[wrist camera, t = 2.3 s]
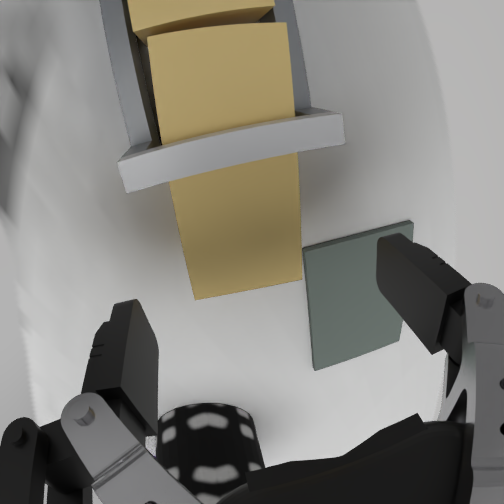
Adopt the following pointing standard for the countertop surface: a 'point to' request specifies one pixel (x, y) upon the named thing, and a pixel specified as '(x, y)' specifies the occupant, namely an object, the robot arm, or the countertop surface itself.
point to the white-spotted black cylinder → (208, 448)
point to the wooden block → (237, 176)
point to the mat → (349, 297)
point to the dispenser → (218, 143)
